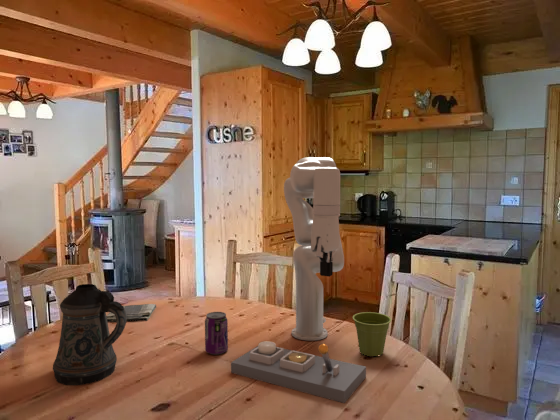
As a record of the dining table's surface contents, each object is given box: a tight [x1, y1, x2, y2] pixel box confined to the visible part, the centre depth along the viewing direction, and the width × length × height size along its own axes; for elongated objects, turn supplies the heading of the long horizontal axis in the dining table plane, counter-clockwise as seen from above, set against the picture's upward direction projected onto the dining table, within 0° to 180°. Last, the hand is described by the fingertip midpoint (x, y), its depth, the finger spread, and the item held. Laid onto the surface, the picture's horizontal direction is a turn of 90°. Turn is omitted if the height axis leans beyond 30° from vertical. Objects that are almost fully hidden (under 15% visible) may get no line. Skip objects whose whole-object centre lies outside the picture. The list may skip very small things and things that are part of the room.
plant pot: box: [352, 311, 392, 357], centre depth 137 cm, size 12×12×11 cm
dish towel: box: [106, 303, 157, 323], centre depth 177 cm, size 19×18×3 cm
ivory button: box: [257, 340, 277, 355], centre depth 126 cm, size 5×5×2 cm
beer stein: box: [52, 283, 127, 386], centre depth 123 cm, size 16×19×25 cm
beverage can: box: [204, 311, 229, 356], centre depth 138 cm, size 7×7×12 cm
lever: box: [317, 343, 333, 372], centre depth 114 cm, size 3×3×10 cm
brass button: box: [289, 351, 307, 364], centre depth 122 cm, size 5×5×2 cm
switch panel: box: [230, 345, 367, 404], centre depth 122 cm, size 16×34×5 cm, turn 60°
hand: (326, 275), depth 124 cm, fingers closed
